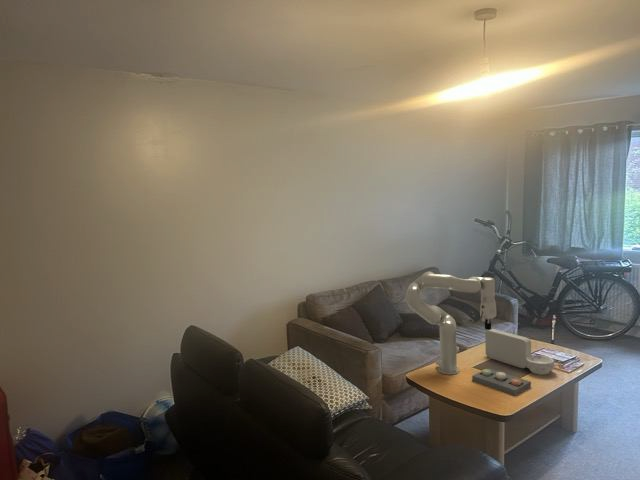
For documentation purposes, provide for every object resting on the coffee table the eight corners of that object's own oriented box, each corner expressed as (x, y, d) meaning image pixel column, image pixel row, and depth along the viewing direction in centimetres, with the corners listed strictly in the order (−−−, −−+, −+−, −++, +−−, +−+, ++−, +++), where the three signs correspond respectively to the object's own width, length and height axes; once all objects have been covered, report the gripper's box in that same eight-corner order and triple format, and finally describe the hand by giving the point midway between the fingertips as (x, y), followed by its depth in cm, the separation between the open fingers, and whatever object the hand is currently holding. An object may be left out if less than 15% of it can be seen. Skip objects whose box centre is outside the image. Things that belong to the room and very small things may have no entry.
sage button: (480, 375, 264) (480, 370, 263) (485, 372, 267) (485, 368, 266) (487, 377, 260) (487, 373, 259) (492, 375, 263) (492, 371, 262)
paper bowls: (538, 365, 280) (538, 352, 279) (559, 373, 266) (560, 360, 265) (519, 369, 274) (519, 357, 273) (540, 379, 260) (540, 365, 259)
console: (472, 380, 262) (472, 375, 262) (488, 373, 271) (488, 368, 271) (515, 395, 241) (515, 390, 241) (530, 386, 251) (530, 381, 250)
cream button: (494, 377, 256) (494, 373, 256) (499, 375, 259) (499, 371, 259) (502, 380, 252) (502, 376, 252) (507, 378, 255) (507, 373, 255)
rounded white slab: (533, 366, 278) (533, 337, 276) (525, 369, 274) (526, 340, 272) (492, 353, 302) (492, 327, 300) (485, 356, 298) (485, 329, 296)
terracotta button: (509, 384, 249) (509, 380, 249) (514, 382, 252) (514, 377, 252) (517, 387, 245) (517, 383, 245) (522, 384, 248) (522, 380, 248)
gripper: (486, 302, 259) (486, 333, 261) (501, 297, 268) (501, 328, 270) (474, 299, 265) (474, 330, 267) (489, 295, 274) (489, 325, 276)
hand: (487, 329), depth 268 cm, fingers closed
